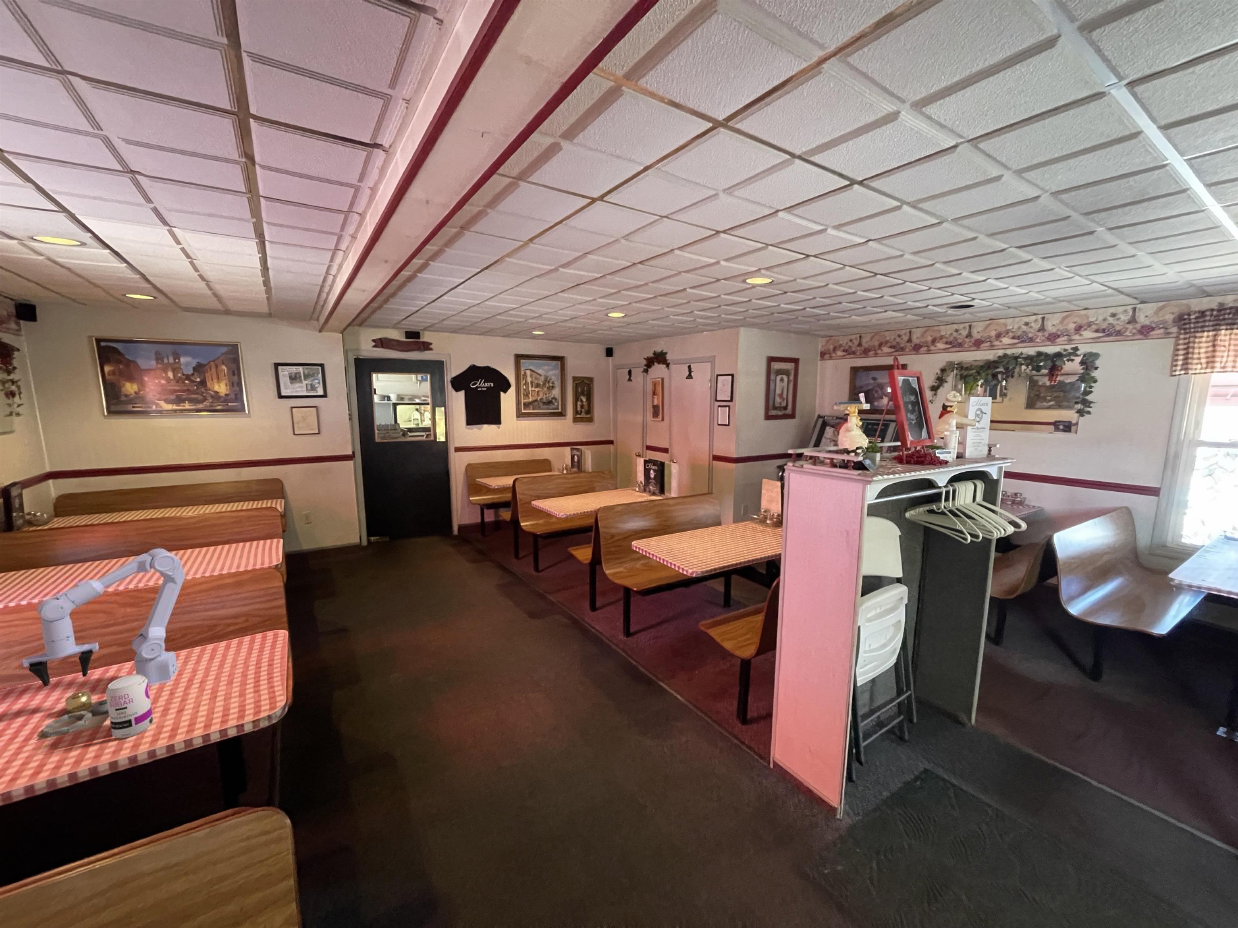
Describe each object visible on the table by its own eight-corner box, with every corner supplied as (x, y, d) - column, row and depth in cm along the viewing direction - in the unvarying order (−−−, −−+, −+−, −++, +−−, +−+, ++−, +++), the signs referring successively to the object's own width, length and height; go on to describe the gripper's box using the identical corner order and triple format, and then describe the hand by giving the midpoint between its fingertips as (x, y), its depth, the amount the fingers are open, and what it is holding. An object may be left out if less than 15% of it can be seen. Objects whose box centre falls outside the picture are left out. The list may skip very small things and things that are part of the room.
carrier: (127, 696, 149) (126, 686, 148) (101, 727, 135) (99, 716, 134) (69, 708, 143) (67, 697, 142) (35, 742, 129) (33, 730, 128)
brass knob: (96, 702, 145) (93, 686, 144) (87, 711, 141) (84, 695, 140) (73, 707, 143) (70, 691, 142) (63, 716, 138) (60, 700, 138)
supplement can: (151, 716, 140) (144, 669, 138) (155, 728, 135) (148, 679, 133) (111, 730, 134) (103, 682, 132) (114, 744, 128) (106, 693, 126)
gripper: (98, 625, 147) (104, 665, 149) (26, 639, 138) (34, 682, 140) (92, 634, 141) (99, 675, 143) (16, 649, 133) (25, 693, 134)
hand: (66, 679), depth 141 cm, fingers open, 7 cm apart
